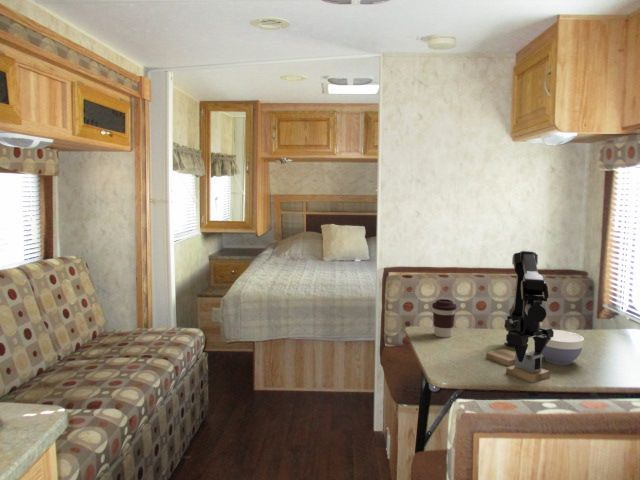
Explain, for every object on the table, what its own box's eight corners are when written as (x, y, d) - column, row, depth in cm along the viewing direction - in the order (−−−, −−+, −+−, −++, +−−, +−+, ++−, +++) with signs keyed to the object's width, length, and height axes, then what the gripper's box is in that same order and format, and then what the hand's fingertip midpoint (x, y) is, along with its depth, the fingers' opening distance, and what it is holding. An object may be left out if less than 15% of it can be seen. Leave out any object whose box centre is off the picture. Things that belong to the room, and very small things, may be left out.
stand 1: (503, 353, 212) (503, 348, 212) (526, 361, 204) (526, 355, 204) (486, 358, 207) (486, 352, 206) (508, 366, 198) (509, 360, 198)
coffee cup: (455, 339, 229) (457, 304, 227) (431, 337, 231) (432, 302, 229) (454, 332, 239) (456, 298, 237) (431, 331, 241) (432, 297, 239)
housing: (523, 364, 194) (524, 348, 193) (541, 371, 188) (542, 353, 188) (514, 367, 191) (515, 350, 190) (532, 373, 185) (533, 356, 185)
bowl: (558, 351, 216) (560, 327, 214) (592, 365, 201) (594, 339, 200) (526, 356, 210) (527, 331, 209) (557, 370, 195) (559, 344, 194)
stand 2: (523, 367, 197) (524, 362, 197) (549, 376, 189) (549, 371, 188) (506, 373, 191) (506, 367, 191) (531, 382, 183) (531, 376, 183)
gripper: (527, 306, 199) (524, 348, 201) (494, 313, 188) (491, 357, 190) (555, 313, 190) (552, 357, 192) (522, 320, 179) (519, 367, 181)
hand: (528, 359), depth 189 cm, fingers open, 9 cm apart
